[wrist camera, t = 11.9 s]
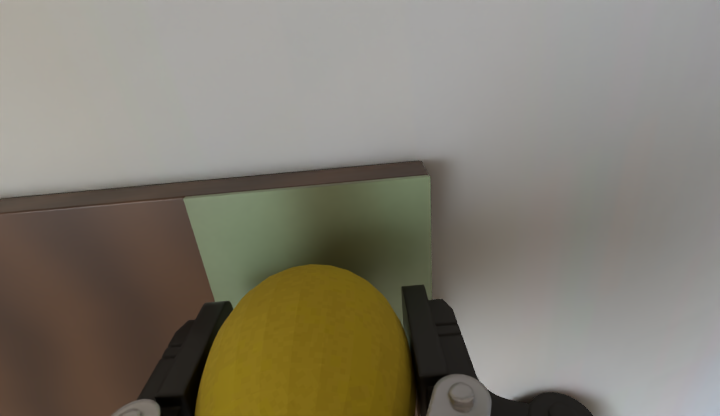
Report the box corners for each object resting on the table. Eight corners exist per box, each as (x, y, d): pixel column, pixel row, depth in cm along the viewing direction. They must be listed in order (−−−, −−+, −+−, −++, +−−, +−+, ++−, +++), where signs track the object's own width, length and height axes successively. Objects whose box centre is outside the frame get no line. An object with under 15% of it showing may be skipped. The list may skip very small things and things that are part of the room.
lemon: (398, 340, 15) (441, 627, 8) (258, 348, 15) (173, 641, 8) (397, 215, 13) (456, 459, 6) (231, 224, 13) (75, 478, 6)
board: (-11, 479, 21) (-39, 514, 19) (-225, 218, 14) (-295, 241, 13) (427, 445, 21) (433, 479, 19) (421, 160, 14) (430, 176, 12)
